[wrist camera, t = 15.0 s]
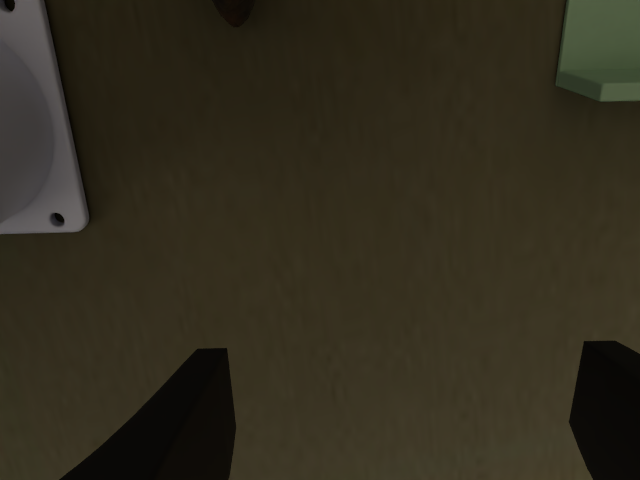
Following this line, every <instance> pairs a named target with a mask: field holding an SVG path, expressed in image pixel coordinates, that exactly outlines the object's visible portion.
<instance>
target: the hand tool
mask: <svg viewBox="0 0 640 480" xmlns="http://www.w3.org/2000/svg"><path fill="white" fill-rule="evenodd" d="M212 1H213V3H214V5H215V7H216V9H217V10H218V12H219V13H220V15H221V16H222V17H223V18H224V19H225V20H226V21H227V22H228V23H229V24H230V25H231V26H233V27H239V26H241V25H242V24H243V23H244V22H245V21H246V20H247V19H248V17H249V14H250V11H251V10H252V8H253V6H254V2H255V0H212Z"/></svg>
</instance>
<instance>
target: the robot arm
mask: <svg viewBox="0 0 640 480" xmlns="http://www.w3.org/2000/svg"><path fill="white" fill-rule="evenodd" d="M14 1H15V8H14V10H13V11H10V10H9V9H7V7H6V5H5V0H0V234H19V233H61V232H78V231H80V230H82V229H83V228H84V227H85V226H86V225H87V224H88V222H89V213H88V208H87V203H86V198H85V193H84V189H83V184H82V179H81V174H80V169H79V165H78V160H77V155H76V150H75V145H74V141H73V136H72V131H71V126H70V121H69V117H68V112H67V107H66V102H65V97H64V93H63V88H62V83H61V78H60V73H59V69H58V64H57V59H56V54H55V49H54V45H53V40H52V35H51V30H50V25H49V21H48V16H47V11H46V6H45V2H44V0H14ZM55 213H59V214H61V215H62V216H63V218H64V219H65V222H64V223H62V222H59V221H58V220H56V218H55ZM569 423H570V426H571V429H572V431H573V434H574V437H575V439H576V442H577V445H578V447H579V450H580V452H581V454H582V457H583V459H584V462H585V464H586V466H587V469H588V471H589V472H590V474H591V476H592V478H593V480H640V354H639V353H637V352H635V351H634V350H632V349H630V348H628V347H626V346H624V345H622V344H620V343H618V342H617V341H584V344H583V350H582V355H581V360H580V366H579V371H578V376H577V382H576V387H575V392H574V398H573V403H572V408H571V414H570V419H569ZM235 432H236V422H235V413H234V405H233V396H232V387H231V379H230V370H229V361H228V353H227V348H214V349H197V350H196V351H195V352H194V353H193V354H192V355H191V356H190V357H189V358H188V359H187V360H186V361H185V362H184V363H183V364H182V365H181V366H180V368H179V369H178V370H177V371H176V372H175V373H174V374H173V375H172V376H171V377H170V378H169V379H168V381H167V382H166V383H165V384H164V385H163V386H162V387H161V388H160V389H159V390H158V391H157V392H156V393H155V394H154V395H153V396H152V397H151V398H150V399H149V400H148V401H147V402H146V403H145V404H144V405H143V406H142V408H141V409H140V410H139V411H138V412H137V413H136V414H135V415H134V416H133V417H132V418H131V419H130V420H128V421H127V422H126V423H125V424H124V425H123V426H122V427H121V428H120V429H119V430H118V431H117V432H116V433H114V434H113V435H112V436H111V437H110V438H109V439H108V440H107V441H106V442H105V443H104V444H103V445H101V446H100V447H99V448H98V449H97V450H96V451H94V452H93V453H92V454H91V455H90V456H88V457H87V458H86V459H85V460H84V461H82V462H81V463H80V464H79V465H77V466H76V467H75V468H74V469H72V470H71V471H70V472H68V473H67V474H66V475H64V476H63V477H62V478H61V479H59V480H228V479H229V475H230V469H231V462H232V455H233V448H234V440H235Z"/></svg>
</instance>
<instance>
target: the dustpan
mask: <svg viewBox="0 0 640 480" xmlns="http://www.w3.org/2000/svg"><path fill="white" fill-rule="evenodd" d="M555 86H557V87H561V88H564V89H567V90H570V91H572V92H575V93H578V94H581V95H583V96H586V97H589V98H591V99H594V100H597V101H600V102H613V101H640V0H567V2H566V9H565V16H564V24H563V31H562V39H561V46H560V54H559V61H558V69H557V76H556V84H555Z"/></svg>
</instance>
